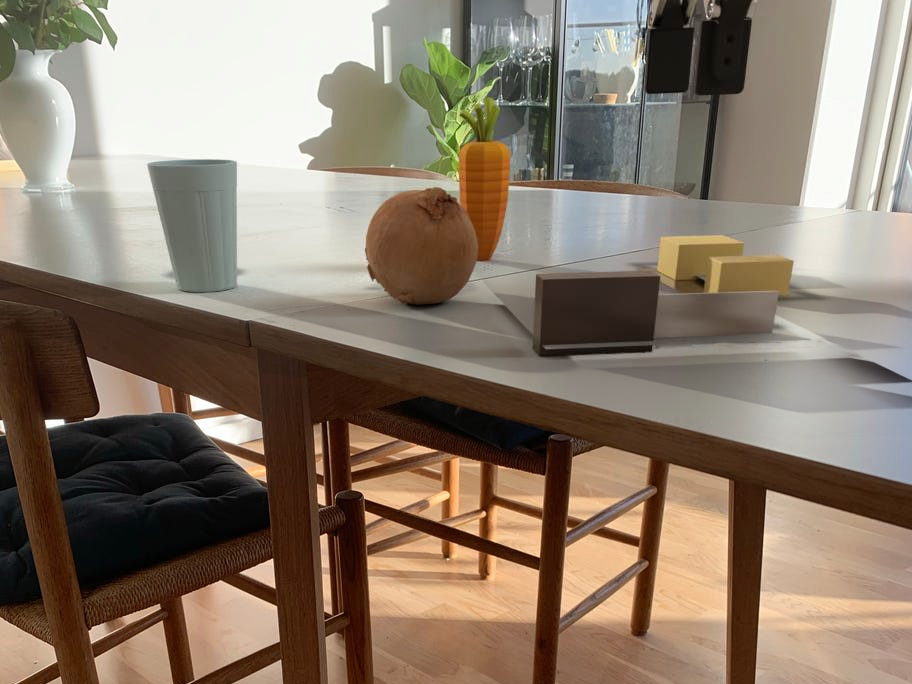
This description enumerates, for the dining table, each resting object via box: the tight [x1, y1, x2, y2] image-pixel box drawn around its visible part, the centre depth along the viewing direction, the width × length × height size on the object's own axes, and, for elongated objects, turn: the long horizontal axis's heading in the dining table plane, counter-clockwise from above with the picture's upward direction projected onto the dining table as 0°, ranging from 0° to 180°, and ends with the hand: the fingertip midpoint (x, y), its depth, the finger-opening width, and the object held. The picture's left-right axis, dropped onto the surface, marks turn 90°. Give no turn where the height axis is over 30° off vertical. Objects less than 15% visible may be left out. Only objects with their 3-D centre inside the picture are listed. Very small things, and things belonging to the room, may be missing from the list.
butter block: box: [657, 234, 745, 280], centre depth 86 cm, size 6×5×3 cm
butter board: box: [636, 267, 705, 294], centre depth 83 cm, size 9×18×1 cm, turn 7°
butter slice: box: [704, 254, 795, 296], centre depth 77 cm, size 6×3×3 cm, turn 97°
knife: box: [532, 270, 780, 357], centre depth 65 cm, size 17×2×5 cm, turn 97°
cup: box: [146, 158, 238, 293], centre depth 85 cm, size 8×8×10 cm
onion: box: [364, 186, 478, 306], centre depth 79 cm, size 10×9×10 cm
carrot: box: [458, 96, 511, 262], centre depth 92 cm, size 5×5×15 cm
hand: (690, 93), depth 65 cm, fingers open, 9 cm apart
